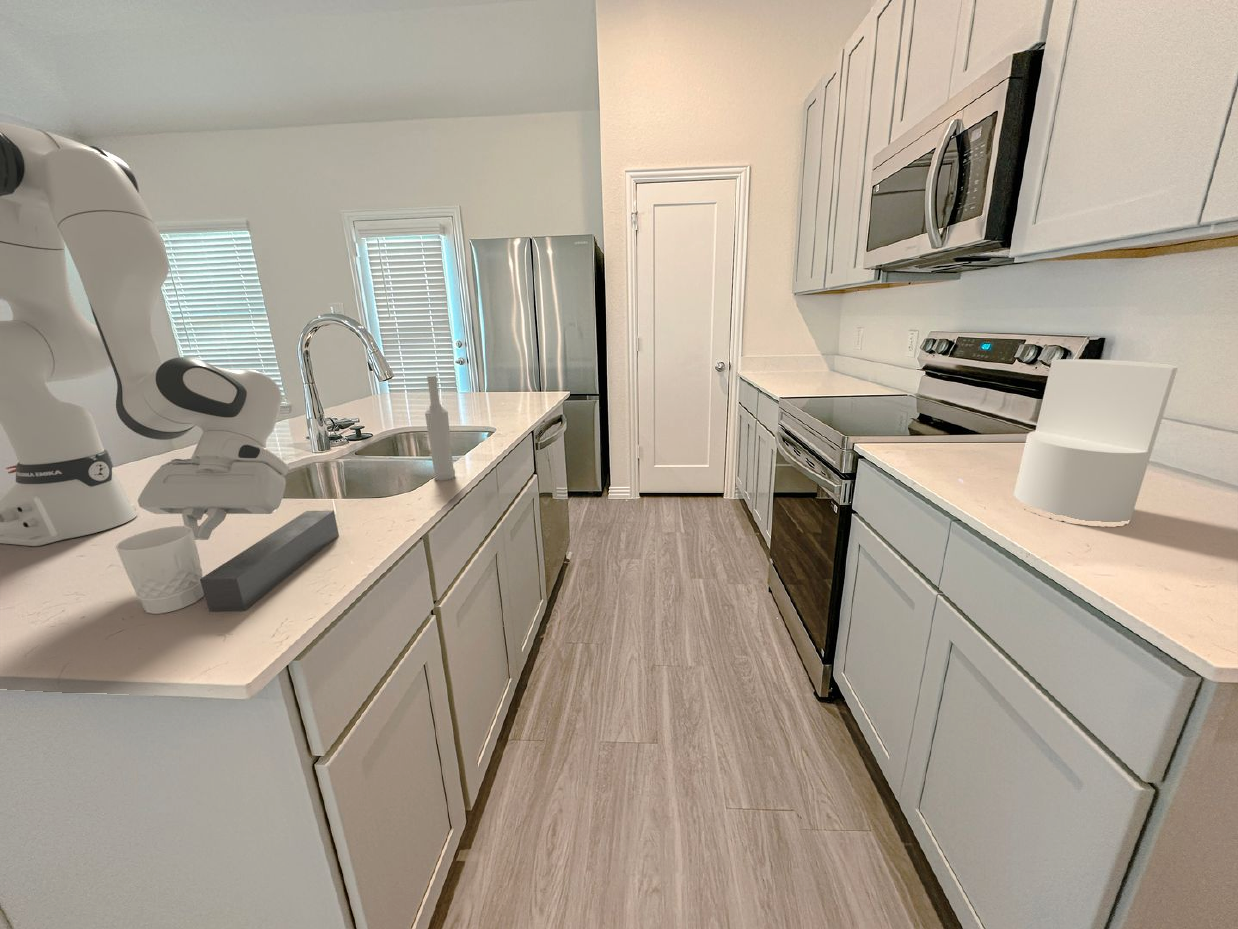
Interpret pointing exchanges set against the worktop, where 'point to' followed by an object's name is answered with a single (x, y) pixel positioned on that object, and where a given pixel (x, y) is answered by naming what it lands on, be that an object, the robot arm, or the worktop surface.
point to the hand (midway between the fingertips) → (194, 538)
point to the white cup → (163, 568)
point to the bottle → (439, 435)
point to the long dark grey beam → (268, 562)
